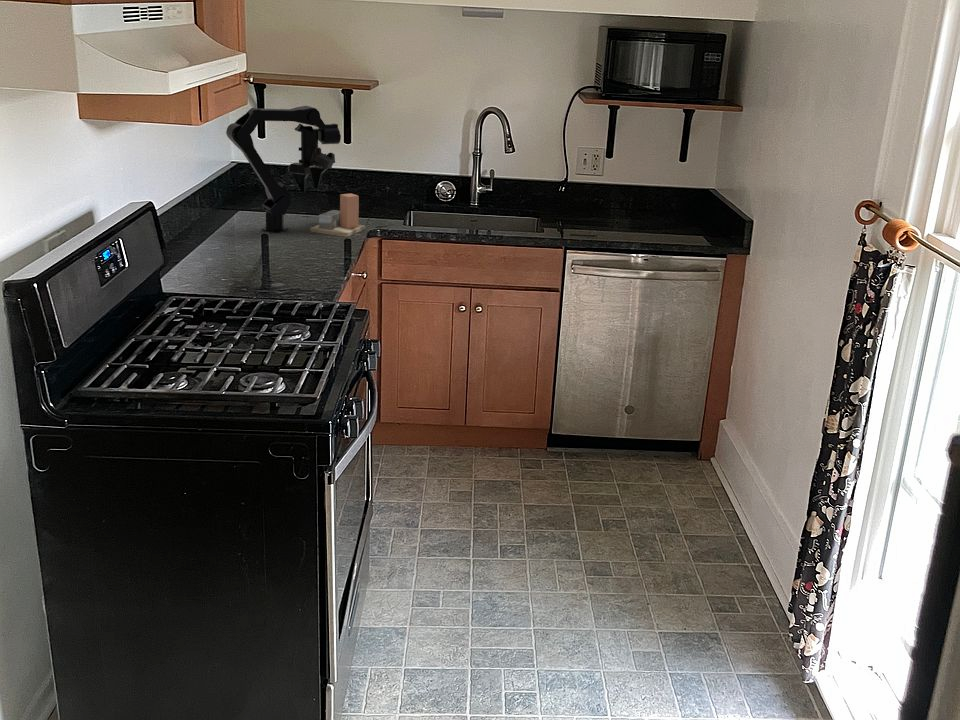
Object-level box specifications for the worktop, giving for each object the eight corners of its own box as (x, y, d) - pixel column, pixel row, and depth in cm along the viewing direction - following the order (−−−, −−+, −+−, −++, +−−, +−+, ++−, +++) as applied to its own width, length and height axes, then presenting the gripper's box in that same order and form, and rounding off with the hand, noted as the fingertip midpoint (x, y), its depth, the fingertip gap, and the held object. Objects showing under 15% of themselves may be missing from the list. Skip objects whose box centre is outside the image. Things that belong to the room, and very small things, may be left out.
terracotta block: (347, 228, 322) (347, 196, 318) (339, 225, 325) (340, 194, 321) (358, 227, 325) (358, 195, 321) (350, 224, 328) (351, 193, 324)
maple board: (346, 236, 316) (347, 220, 314) (310, 231, 320) (310, 215, 318) (365, 229, 328) (365, 213, 326) (329, 223, 332) (330, 208, 330)
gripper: (317, 150, 304) (317, 197, 310) (343, 143, 321) (343, 188, 326) (287, 147, 308) (288, 193, 313) (315, 140, 324) (315, 185, 330)
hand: (309, 190), depth 320 cm, fingers open, 9 cm apart
